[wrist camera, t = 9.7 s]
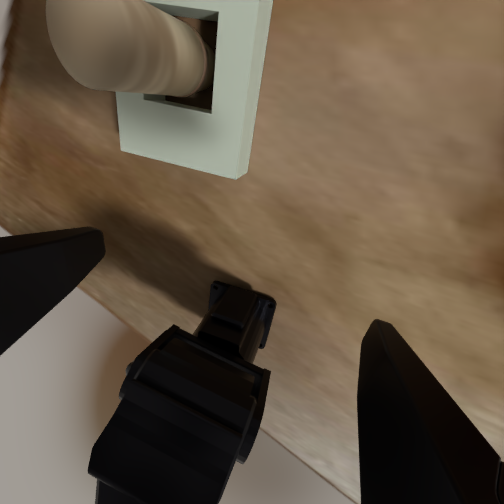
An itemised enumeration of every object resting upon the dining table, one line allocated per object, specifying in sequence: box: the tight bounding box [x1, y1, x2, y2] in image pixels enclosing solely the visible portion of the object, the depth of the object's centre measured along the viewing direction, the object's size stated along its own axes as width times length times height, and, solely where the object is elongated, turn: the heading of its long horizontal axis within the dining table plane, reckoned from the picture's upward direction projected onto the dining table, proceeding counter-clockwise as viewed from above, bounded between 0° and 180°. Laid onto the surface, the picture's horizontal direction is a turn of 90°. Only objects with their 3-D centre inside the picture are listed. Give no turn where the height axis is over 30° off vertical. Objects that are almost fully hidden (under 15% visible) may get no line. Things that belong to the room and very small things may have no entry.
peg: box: [46, 0, 216, 97], centre depth 14 cm, size 4×4×9 cm
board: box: [116, 0, 273, 180], centre depth 16 cm, size 12×9×2 cm
